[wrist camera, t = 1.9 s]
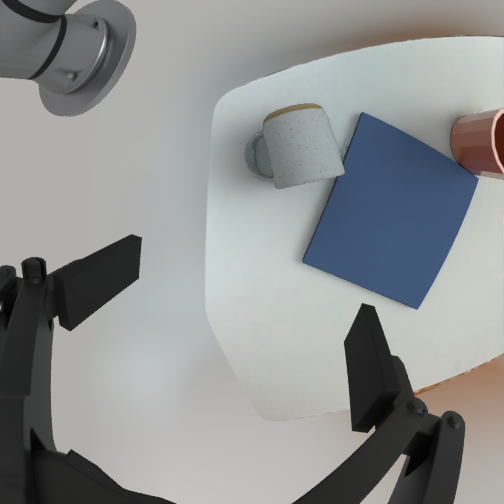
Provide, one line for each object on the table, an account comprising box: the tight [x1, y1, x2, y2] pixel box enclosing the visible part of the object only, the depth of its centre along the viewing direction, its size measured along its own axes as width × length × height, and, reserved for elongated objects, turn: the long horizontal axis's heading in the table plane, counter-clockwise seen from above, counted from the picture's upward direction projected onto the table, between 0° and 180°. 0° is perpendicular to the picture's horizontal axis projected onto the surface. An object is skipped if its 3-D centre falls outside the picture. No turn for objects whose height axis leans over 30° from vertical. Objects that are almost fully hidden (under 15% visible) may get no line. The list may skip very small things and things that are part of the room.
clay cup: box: [450, 108, 504, 180], centre depth 22 cm, size 8×8×10 cm
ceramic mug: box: [245, 104, 345, 189], centre depth 29 cm, size 11×8×8 cm
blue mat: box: [303, 112, 479, 310], centre depth 32 cm, size 18×20×1 cm
